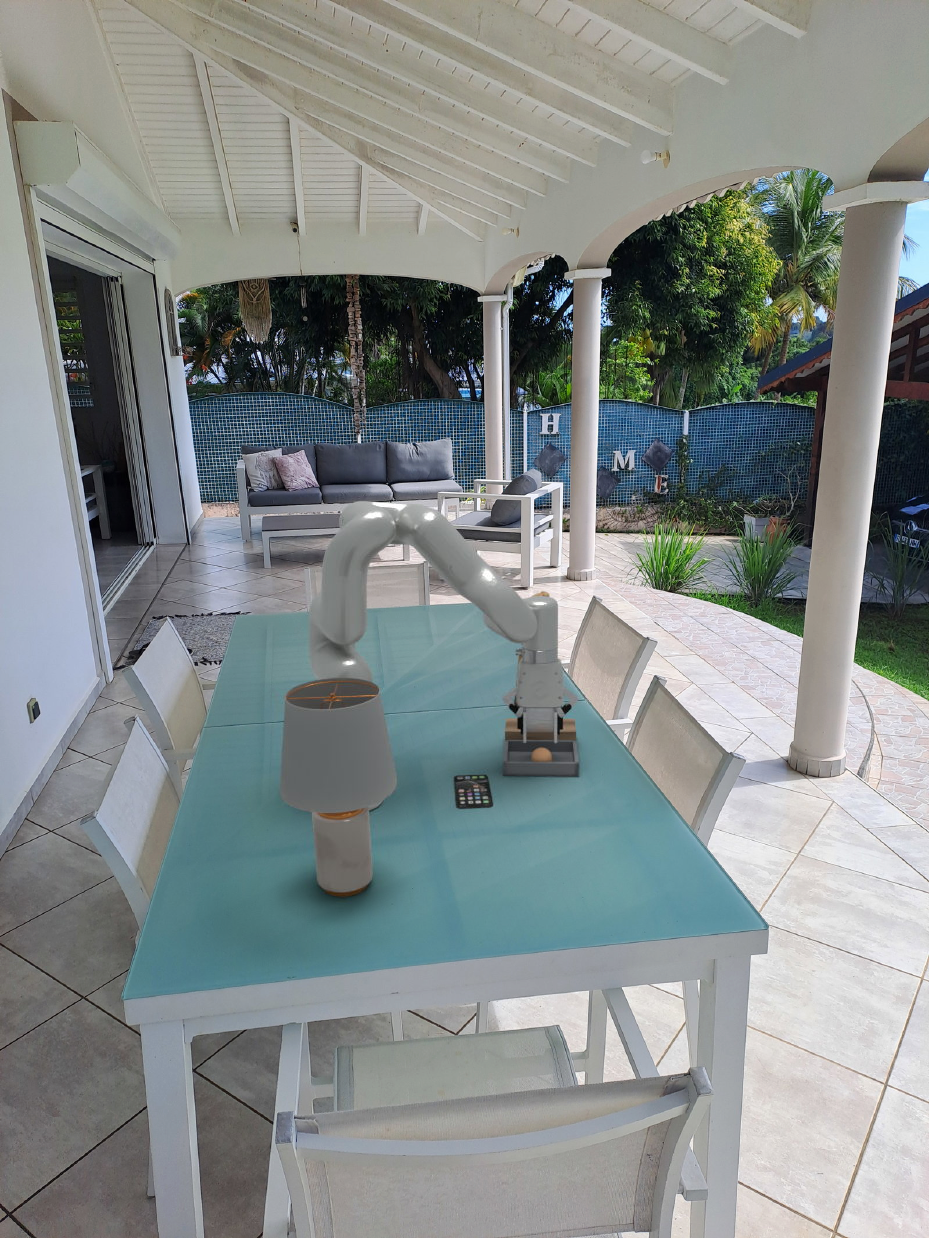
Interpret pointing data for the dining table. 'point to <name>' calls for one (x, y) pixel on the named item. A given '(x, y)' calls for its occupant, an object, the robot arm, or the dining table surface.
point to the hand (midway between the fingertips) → (540, 731)
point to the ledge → (515, 733)
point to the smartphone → (472, 791)
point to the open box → (539, 721)
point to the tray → (522, 765)
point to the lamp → (337, 773)
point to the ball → (541, 755)
